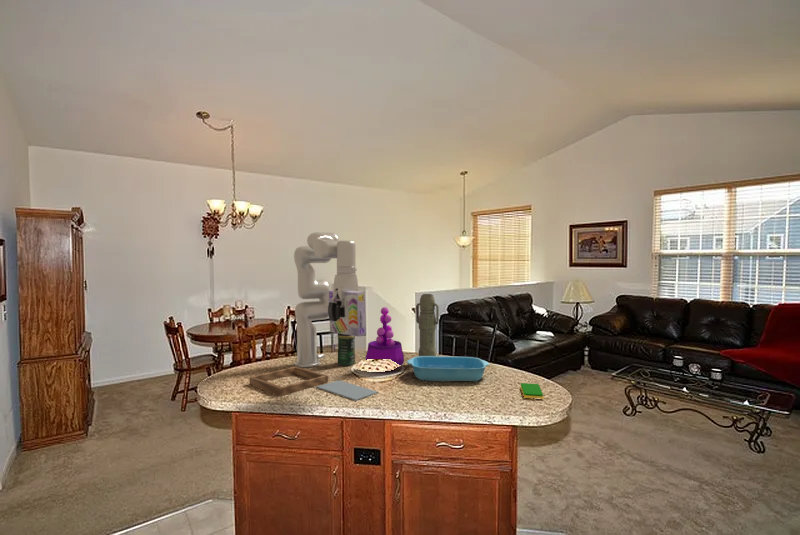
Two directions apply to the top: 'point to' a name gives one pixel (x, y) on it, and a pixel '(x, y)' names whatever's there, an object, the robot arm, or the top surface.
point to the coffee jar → (346, 349)
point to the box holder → (281, 391)
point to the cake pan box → (348, 314)
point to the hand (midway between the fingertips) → (346, 315)
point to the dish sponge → (531, 390)
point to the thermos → (427, 324)
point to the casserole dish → (448, 368)
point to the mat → (347, 390)
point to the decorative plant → (385, 342)
